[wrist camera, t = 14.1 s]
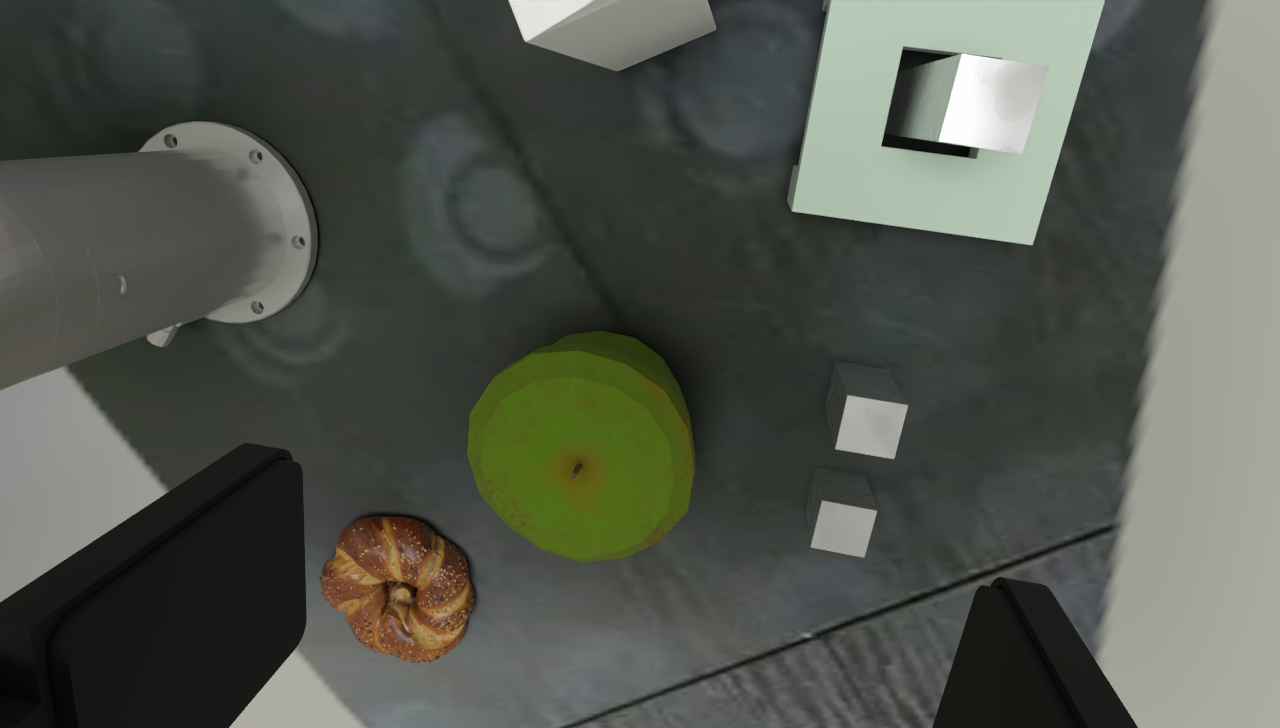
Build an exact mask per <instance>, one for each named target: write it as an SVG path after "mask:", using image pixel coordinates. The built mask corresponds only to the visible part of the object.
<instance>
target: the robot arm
mask: <svg viewBox="0 0 1280 728" xmlns="http://www.w3.org/2000/svg"><path fill="white" fill-rule="evenodd" d="M261 154H262V156H261ZM262 157H263V158H262ZM303 239H304V242H305V243H304V242H303ZM317 250H318V234H317V224H316V219H315V215H314V210H313V207H312V204H311V202H310V199H309V196H308V194H307V191H306V189H305V187H304V186H303V184H302V182H301V181H300V179H299V177H298V176H297V174H296V172H295V171H294V170H293V168H292V167H291V166H290V165H289V164H288V162H287V161H286V160H285V159H284V158H283V156H282V155H281V154H279V153H278V152H277V151H276V150H275V149H274V148H273V147H271V146H270V145H269V144H268V143H267V142H265V141H264V140H262V139H260V138H259V137H257V136H256V135H254V134H252V133H251V132H249V131H246V130H244V129H241V128H239V127H236V126H233V125H231V124H225V123H219V122H214V121H193V122H187V123H180V124H176V125H173V126H170V127H167V128H165V129H163V130H161V131H160V132H158V133H157V134H156V135H154V136H153V137H151V138H150V139H149V140H147V142H146V143H145V144H144V145H143V146H142V147H141V149H140V150H139V151H138V152H132V153H117V154H101V155H85V156H69V157H54V158H38V159H22V160H7V161H0V390H2V389H5V388H7V387H10V386H12V385H15V384H18V383H20V382H22V381H25V380H28V379H30V378H33V377H36V376H38V375H41V374H44V373H46V372H49V371H52V370H55V369H57V368H60V367H62V366H65V365H68V364H70V363H73V362H76V361H79V360H81V359H84V358H87V357H89V356H92V355H95V354H97V353H100V352H103V351H106V350H108V349H111V348H114V347H116V346H119V345H122V344H125V343H127V342H130V341H133V340H135V339H138V338H141V337H143V336H146V335H147V340H148V341H149V342H150V343H152V344H154V345H156V346H160V347H166V346H168V345H169V344H170V343H171V341H172V339H173V338H174V336H175V334H176V333H177V331H178V327H179V326H182V325H184V324H187V323H190V322H192V321H195V320H198V319H200V318H203V317H205V318H207V319H210V320H214V321H219V322H224V323H248V322H253V321H257V320H261V319H264V318H266V317H269V316H271V315H274V314H276V313H278V312H279V311H281V310H283V309H284V308H286V307H288V306H289V305H290V304H291V303H292V302H293V301H294V300H295V299H296V298H297V297H298V296H299V295H300V294H301V293H302V291H303V290H304V288H305V286H306V285H307V283H308V282H309V280H310V277H311V274H312V272H313V269H314V266H315V262H316V256H317ZM305 626H306V582H305V545H304V508H303V474H302V468H301V466H300V464H299V463H297V462H293V458H292V456H291V454H290V452H288V451H287V450H284V449H279V448H273V447H268V446H262V445H256V444H250V443H245V444H242V445H240V446H238V447H237V448H235V449H234V450H232V451H231V452H229V453H228V454H226V455H225V456H223V457H222V458H220V459H218V460H217V461H215V462H214V463H212V464H211V465H209V466H208V467H206V468H205V469H203V470H202V471H200V472H199V473H197V474H196V475H194V476H193V477H191V478H189V479H188V480H186V481H185V482H183V483H182V484H180V485H179V486H177V487H176V488H174V489H173V490H171V491H170V492H168V493H167V494H165V495H164V496H162V497H160V498H159V499H157V500H156V501H154V502H153V503H151V504H150V505H149V506H147V507H145V508H144V509H142V510H141V511H139V512H138V513H136V514H135V515H133V516H131V517H130V518H128V519H127V520H126V521H124V522H123V523H121V524H119V525H118V526H116V527H115V528H113V529H112V530H110V531H109V532H107V533H105V534H104V535H102V536H101V537H99V538H98V539H96V540H95V541H93V542H92V543H90V544H89V545H87V546H86V547H84V548H83V549H81V550H80V551H78V552H76V553H75V554H73V555H72V556H70V557H69V558H67V559H66V560H64V561H63V562H61V563H60V564H58V565H57V566H55V567H54V568H52V569H51V570H49V571H48V572H46V573H45V574H43V575H41V576H40V577H38V578H37V579H36V580H34V581H32V582H31V583H29V584H28V585H26V586H25V587H23V588H22V589H20V590H19V591H17V592H15V593H14V594H13V595H11V596H9V597H8V598H7V599H5V600H4V601H2V602H0V728H229V727H230V726H231V724H232V723H233V722H234V721H235V720H236V718H237V717H238V716H239V715H240V714H241V712H242V711H243V710H244V709H245V707H246V706H247V705H248V704H249V703H250V702H251V701H252V699H253V698H254V697H255V696H256V695H257V693H258V692H259V691H260V690H261V689H262V688H263V686H264V685H265V684H266V683H267V682H268V680H269V679H270V678H271V677H272V676H273V675H274V673H275V672H276V671H277V670H278V668H279V667H280V666H281V665H282V664H283V663H284V661H285V660H286V659H287V658H288V657H289V656H290V654H291V653H292V652H293V651H294V650H295V648H296V647H297V646H298V644H299V642H300V640H301V639H302V636H303V633H304V631H305ZM933 728H1138V727H1137V725H1136V724H1135V722H1134V721H1133V719H1132V718H1131V716H1130V714H1129V713H1128V711H1127V710H1126V708H1125V707H1124V705H1123V703H1122V702H1121V701H1120V699H1119V697H1118V696H1117V694H1116V692H1115V691H1114V689H1113V688H1112V686H1111V685H1110V683H1109V681H1108V680H1107V678H1106V677H1105V675H1104V674H1103V672H1102V670H1101V669H1100V667H1099V666H1098V664H1097V663H1096V661H1095V659H1094V658H1093V656H1092V655H1091V653H1090V652H1089V650H1088V648H1087V647H1086V645H1085V644H1084V642H1083V641H1082V639H1081V637H1080V636H1079V634H1078V633H1077V631H1076V630H1075V628H1074V626H1073V625H1072V623H1071V622H1070V620H1069V619H1068V617H1067V615H1066V614H1065V612H1064V611H1063V609H1062V608H1061V606H1060V604H1059V603H1058V601H1057V600H1056V598H1055V597H1054V595H1053V593H1052V592H1051V590H1050V589H1049V588H1048V587H1047V586H1045V585H1042V584H1036V583H1031V582H1025V581H1019V580H1014V579H1008V578H1003V577H998V578H996V579H995V580H994V581H993V583H992V584H991V586H984V585H982V586H980V587H979V588H978V589H977V591H976V593H975V596H974V599H973V602H972V605H971V608H970V611H969V615H968V618H967V621H966V624H965V627H964V630H963V633H962V637H961V640H960V643H959V646H958V649H957V652H956V655H955V658H954V662H953V665H952V668H951V671H950V674H949V677H948V680H947V684H946V687H945V690H944V693H943V696H942V699H941V702H940V706H939V709H938V712H937V715H936V718H935V721H934V724H933Z"/></svg>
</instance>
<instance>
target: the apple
mask: <svg viewBox="0 0 1280 728" xmlns="http://www.w3.org/2000/svg"><path fill="white" fill-rule="evenodd" d="M467 456H468V459H469V462H470V465H471V468H472V471H473V474H474V478H475V481H476V484H477V487H478V490H479V493H480V495H481V496H482V497H483V498H484V500H485V501H486V502H487V503H488V504H489V505H490V507H491V508H492V509H493V510H494V511H495V512H496V514H497V515H498V516H499V517H500V518H501V519H502V521H503V522H504V523H505V524H506V525H507V526H508V527H509V528H511V529H512V530H514V531H515V532H517V533H518V534H519V535H521V536H522V537H524V538H525V539H527V540H528V541H529V542H531V543H532V544H534V545H535V546H537V547H538V548H539V549H541V550H544V551H547V552H550V553H553V554H557V555H560V556H563V557H566V558H569V559H573V560H576V561H579V562H590V561H600V560H610V559H620V558H625V557H627V556H629V555H631V554H634V553H636V552H638V551H640V550H642V549H645V548H647V547H649V546H651V545H653V544H656V543H658V542H660V541H661V540H662V539H663V538H664V537H665V536H666V535H667V533H668V532H669V531H670V530H671V529H672V528H673V527H674V526H675V525H676V524H677V522H678V521H679V520H680V519H681V518H682V517H683V516H684V515H685V514H686V512H687V511H688V506H689V500H690V495H691V489H692V483H693V477H694V472H695V460H696V455H695V448H694V442H693V436H692V429H691V423H690V416H689V413H688V410H687V406H686V403H685V400H684V397H683V394H682V392H681V389H680V386H679V385H678V383H677V381H676V380H675V378H674V376H673V374H672V373H671V371H670V369H669V368H668V366H667V364H666V363H665V361H664V359H663V358H662V357H661V356H660V355H658V354H657V353H655V352H654V351H653V350H651V349H650V348H649V347H647V346H646V345H645V344H643V343H642V342H640V341H639V340H638V339H636V338H635V337H630V336H625V335H621V334H616V333H611V332H606V331H593V332H585V333H577V334H569V335H567V336H565V337H564V338H562V339H560V340H559V341H557V342H555V343H554V344H552V345H549V346H543V347H541V348H539V349H537V350H535V351H533V352H532V353H530V354H528V355H526V356H524V357H522V358H520V359H519V360H517V361H515V362H513V363H511V364H509V365H508V366H506V367H504V368H503V369H502V370H501V371H500V372H499V373H498V374H497V375H496V376H495V377H494V378H493V380H492V381H491V383H490V384H489V386H488V387H487V389H486V390H485V392H484V393H483V395H482V396H481V398H480V399H479V401H478V402H477V404H476V405H475V407H474V408H473V410H472V411H471V413H470V421H469V436H468V451H467Z"/></svg>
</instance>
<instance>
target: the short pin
mask: <svg viewBox="0 0 1280 728" xmlns="http://www.w3.org/2000/svg"><path fill="white" fill-rule="evenodd" d="M805 513H806V519H807V526H808V533H809V540H810V547H812V548H817V549H822V550H827V551H832V552H838V553H843V554H848V555H853V556H858V557H863V558H864V557H865V553H866V550H867V546H868V542H869V539H870V535H871V532H872V528H873V524H874V521H875V517H876V514H877V509H876V505H875V502H874V499H873V496H872V493H871V490H870V487H869V484H868V481H867V478H866V476H863V475H858V474H852V473H847V472H842V471H836V470H831V469H825V468H820V467H815V472H814V476H813V480H812V484H811V488H810V492H809V496H808V501H807V505H806V509H805Z"/></svg>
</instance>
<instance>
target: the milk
mask: <svg viewBox="0 0 1280 728" xmlns="http://www.w3.org/2000/svg"><path fill="white" fill-rule="evenodd" d="M509 3H510V5H511V8H512V10H513V13H514V15H515V18H516V21H517V23H518V26H519V28H520V31H521V34H522V36H523V39H524V40H525V42H527V43H530V44H533V45H537V46H540V47H543V48H546V49H549V50H552V51H555V52H558V53H561V54H564V55H568V56H571V57H574V58H577V59H580V60H583V61H586V62H589V63H592V64H595V65H599V66H602V67H605V68H608V69H611V70H614V71H620V70H623V69H625V68H627V67H630V66H632V65H635V64H637V63H639V62H642V61H644V60H647V59H649V58H651V57H654V56H656V55H658V54H661V53H663V52H666V51H668V50H670V49H673V48H675V47H677V46H680V45H682V44H685V43H687V42H689V41H692V40H694V39H697V38H699V37H701V36H704V35H706V34H708V33H711V32H713V31H715V30H716V25H715V22H714V18H713V15H712V12H711V9H710V6H709V3H708V0H509Z"/></svg>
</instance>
